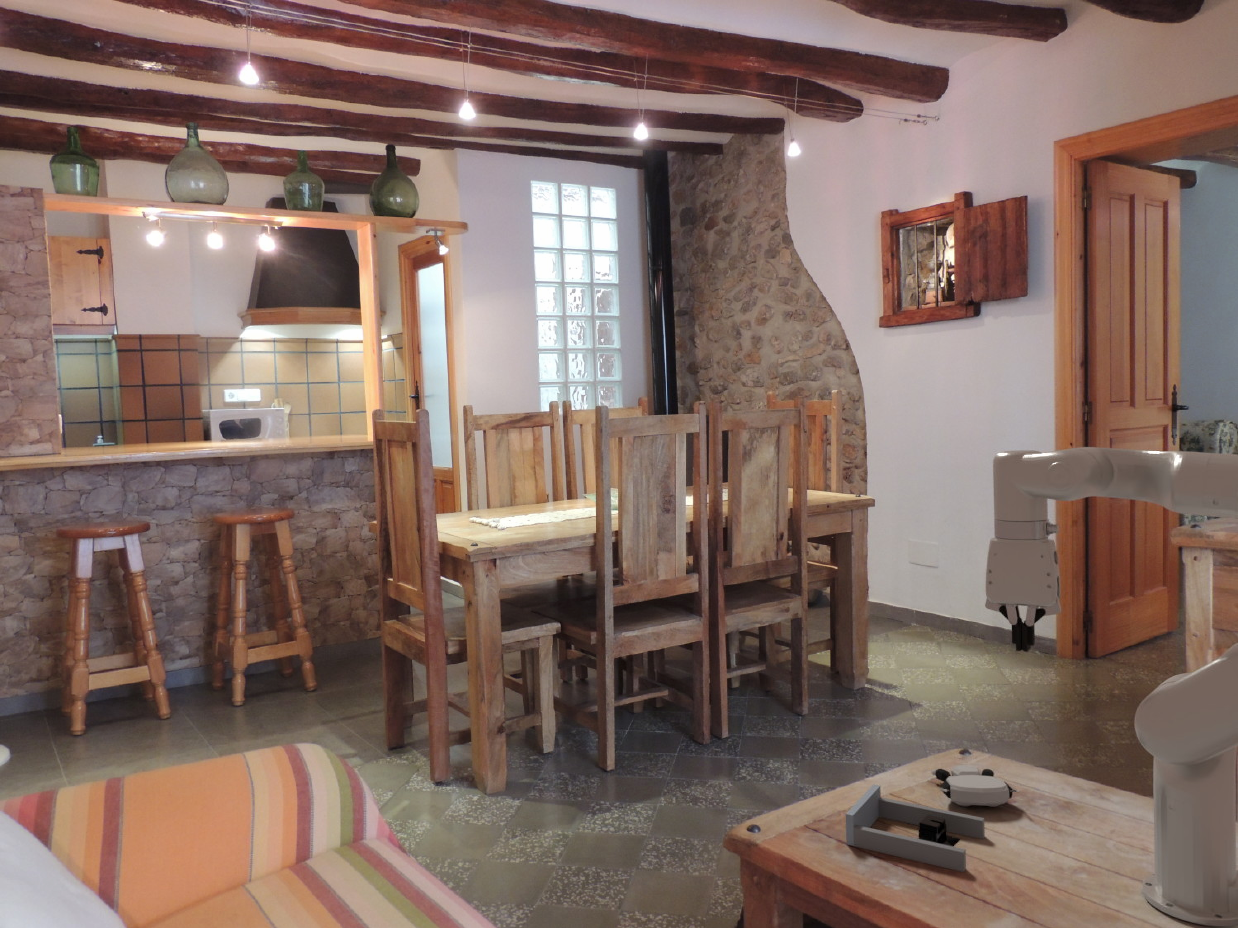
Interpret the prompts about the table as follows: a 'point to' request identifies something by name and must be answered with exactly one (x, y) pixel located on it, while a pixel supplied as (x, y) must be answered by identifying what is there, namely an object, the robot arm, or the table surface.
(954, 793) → the robot toy
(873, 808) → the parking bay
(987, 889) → the table surface
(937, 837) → the black bracket part
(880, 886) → the table surface
